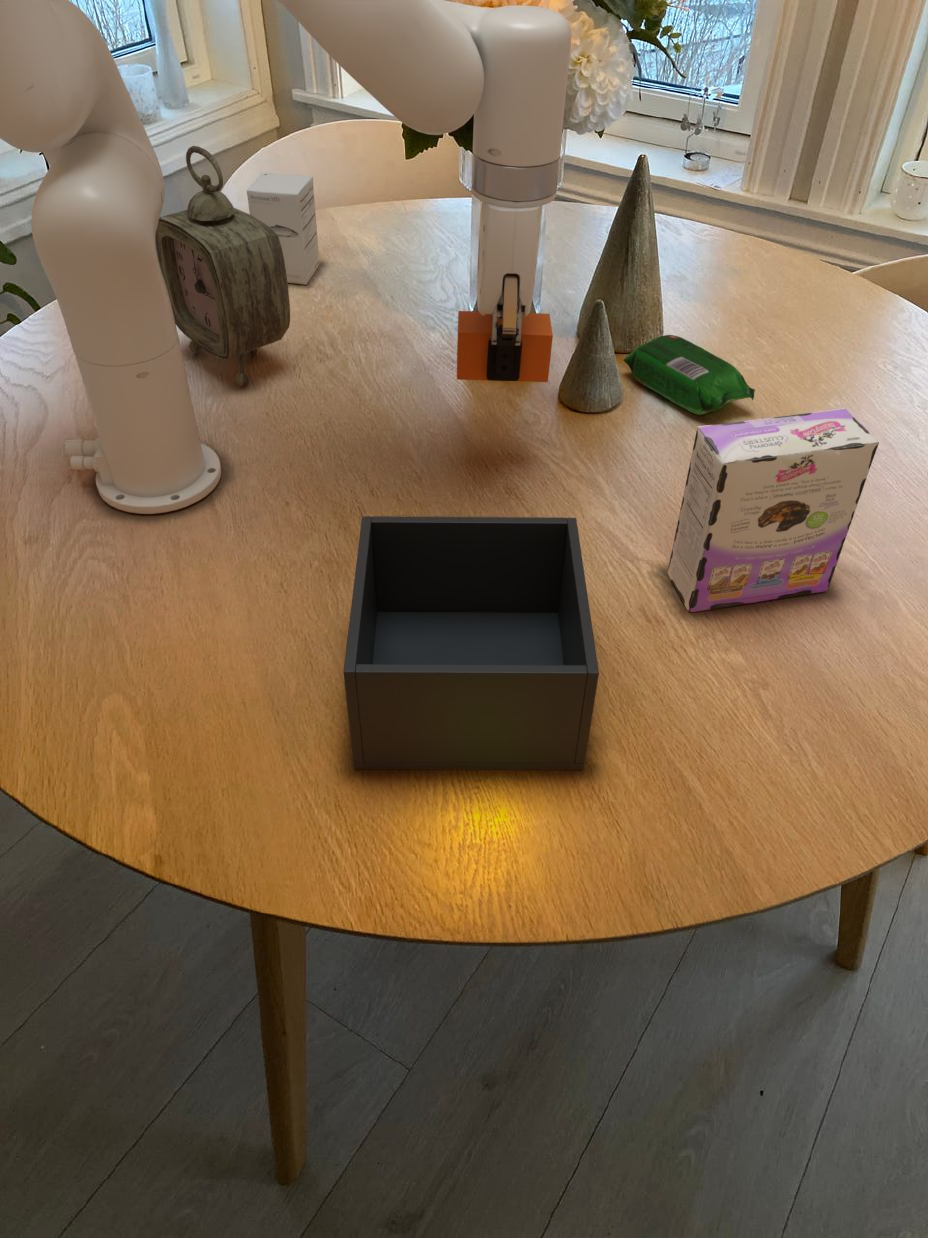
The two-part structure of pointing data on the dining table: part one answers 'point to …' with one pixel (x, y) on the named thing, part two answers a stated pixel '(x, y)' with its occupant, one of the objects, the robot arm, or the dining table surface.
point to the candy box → (768, 507)
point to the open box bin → (470, 645)
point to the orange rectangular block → (478, 332)
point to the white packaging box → (289, 220)
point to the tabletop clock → (223, 274)
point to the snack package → (687, 374)
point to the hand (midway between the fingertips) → (501, 363)
